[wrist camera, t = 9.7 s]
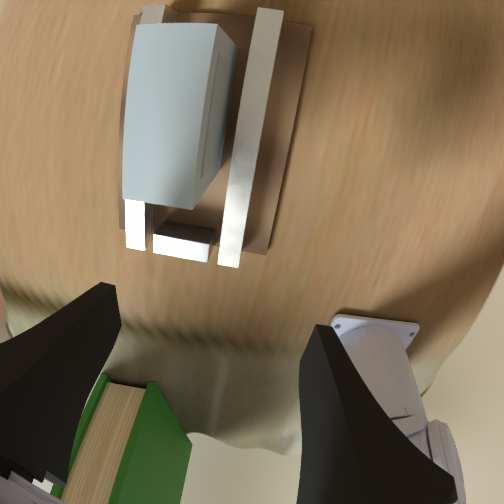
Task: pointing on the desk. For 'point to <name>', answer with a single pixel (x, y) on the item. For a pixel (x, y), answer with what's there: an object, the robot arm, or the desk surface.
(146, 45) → the pale blue rectangular block
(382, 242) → the desk surface
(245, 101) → the track rails
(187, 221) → the track floor
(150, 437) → the hardback book
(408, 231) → the desk surface
